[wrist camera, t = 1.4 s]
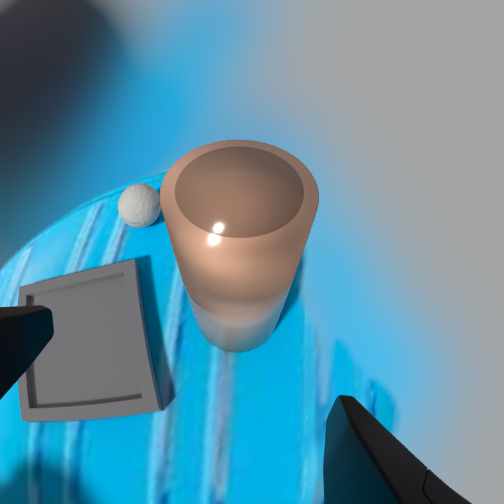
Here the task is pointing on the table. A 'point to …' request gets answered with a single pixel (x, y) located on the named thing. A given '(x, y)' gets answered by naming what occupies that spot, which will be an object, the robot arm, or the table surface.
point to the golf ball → (139, 205)
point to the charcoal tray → (91, 349)
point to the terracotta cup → (238, 235)
